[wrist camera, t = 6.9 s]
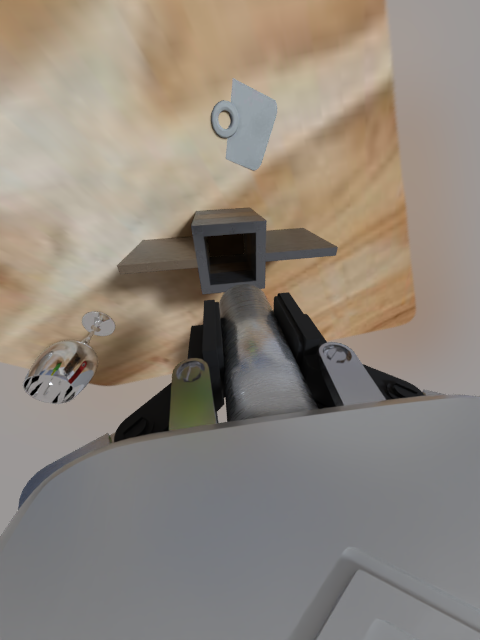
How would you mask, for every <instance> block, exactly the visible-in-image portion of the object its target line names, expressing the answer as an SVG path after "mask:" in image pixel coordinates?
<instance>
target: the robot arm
mask: <svg viewBox="0 0 480 640" xmlns="http://www.w3.org/2000/svg"><path fill="white" fill-rule="evenodd" d="M273 312H274V315H275V317H276V319H277V321H278V323H279V325H280V327H281V330H282V332H283V334H284V336H285V338H286V340H287V342H288V344H289V347H290V349H291V351H292V353H293V355H294V357H295V359H296V362H297V364H298V366H299V368H300V370H301V372H302V374H303V376H304V379H305V381H306V383H307V385H308V387H309V389H310V391H311V394H312V396H313V398H314V400H315V402H316V404H317V406H318V409H316V410H309V411H301V412H294V413H287V414H280V415H273V416H266V417H258V418H251V419H244V420H238V421H231V422H224V423H218V416H217V411H218V410H219V409H220V408H221V407H222V406H223V405H224V397H226V396H225V383H224V373H225V366H224V353H223V341H222V329H221V317H220V308H219V302H215V300H207V301H204V318H203V325H197V326H192V327H191V334H190V342H189V351H188V359H187V360H184V361H182V362H180V363H179V364H178V365H177V366H176V367H175V368H174V370H173V373H172V383H170V384H169V385H168V386H167V387H165V388H164V389H163V390H162V391H160V392H159V393H158V394H157V395H155V396H154V397H153V398H152V399H150V400H149V401H148V402H147V403H145V404H144V405H143V406H141V407H140V408H139V409H138V410H137V411H135V412H134V413H133V414H131V415H130V416H129V417H128V418H126V419H125V420H124V421H123V422H122V423H121V424H120V426H119V427H118V429H117V430H116V432H115V433H114V434H111V435H109V434H108V433H107V434H105V435H103V436H101V437H99V438H98V439H96V440H94V441H92V442H90V443H88V444H86V445H85V446H83V447H81V448H79V449H77V450H75V451H73V452H72V453H70V454H68V455H66V456H64V457H62V458H60V459H59V460H57V461H55V462H53V463H51V464H49V465H47V466H46V467H44V468H43V469H41V470H40V471H38V472H37V473H36V474H35V475H34V476H33V477H32V478H31V479H30V480H29V481H28V483H27V484H26V486H25V487H24V489H23V491H22V494H21V496H20V499H19V507H18V511H17V512H16V514H15V515H14V517H13V518H12V520H11V521H10V523H9V524H8V526H7V527H6V529H5V530H4V532H3V533H2V535H1V536H0V640H480V396H469V395H445V394H441V393H437V392H432V391H428V390H423V392H421V391H420V390H419V389H418V388H417V387H415V386H414V385H412V384H410V383H408V382H406V381H404V380H401V379H399V378H396V377H393V376H391V375H388V374H386V373H384V372H381V371H378V370H376V369H373V368H371V367H368V366H366V365H363V364H362V363H361V362H360V360H359V359H358V357H357V356H356V354H355V353H354V352H353V351H352V349H350V348H349V347H347V346H346V345H343V344H341V343H335V342H329V343H327V342H326V340H325V339H324V337H323V336H322V335H321V333H320V332H319V330H318V329H317V327H316V326H315V325H314V323H313V322H312V320H311V319H310V318H309V316H308V315H307V314H303V312H302V311H301V310H300V308H299V307H298V305H297V304H296V302H295V301H294V299H293V298H292V296H291V295H290V293H279V294H278V296H275V297H274V311H273Z"/></svg>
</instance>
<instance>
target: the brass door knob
mask: <svg viewBox="0 0 480 640" xmlns="http://www.w3.org/2000/svg"><path fill="white" fill-rule="evenodd" d="M219 308H220V317H221V329H222V341H223V353H224V366H225V373H224V383H225V396H226V410H227V422H231V421H238V420H244V419H251V418H258V417H266V416H273V415H280V414H287V413H294V412H301V411H309V410H316V409H318V406H317V404H316V402H315V400H314V398H313V396H312V394H311V391H310V389H309V387H308V385H307V383H306V381H305V379H304V376H303V374H302V372H301V370H300V368H299V366H298V364H297V362H296V359H295V357H294V355H293V353H292V351H291V349H290V347H289V344H288V342H287V340H286V338H285V336H284V334H283V332H282V330H281V327H280V325H279V323H278V321H277V319H276V317H275V315H274V312H273V310H272V308H271V306H270V304H269V302H268V300H267V298H266V296H265V294H264V292H263V291H262V290H261V289H259V288H258V287H256V286H253V285H250V284H241V285H237V286H234V287H232V288H230V289H229V290H227V291H226V292H225V293H224V294H223V296H222V297H221V300H220V303H219Z"/></svg>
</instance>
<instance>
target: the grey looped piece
mask: <svg viewBox="0 0 480 640" xmlns="http://www.w3.org/2000/svg"><path fill="white" fill-rule="evenodd" d="M224 110H226V111H228V112H229V113H230V118H231V123H230V125H229V128H228V129H223V128H222V127H221V126H220V125H219V122H218V116H219V113H220V112H221V111H224ZM276 114H277V104H276V101H275V100H273V99H272V98H270V97H268V96H266V95H264V94H262V93H260V92H258V91H256V90H254V89H253V88H251V87H249V86H247V85H245V84H243V83H241V82H239V81H237V80H235V79H234V78H233V83H232V94H231V103H230V102H229V101H224V100H223V101H220V102H218V103H217V104H216V105H215V106H214V108H213V111H212V113H211V123H212V126H213V129H214V131H215V132H216V134H217V135H219V136H220V137H221V138H228V140H227V151H226V159H228V160H230V161H232V162H235V163H237V164H239V165H242V166H244V167H247V168H249V169H251V170H257V169H258V168H259V167H260V165H261V163H262V160H263V157H264V153H265V150H266V147H267V144H268V140H269V137H270V134H271V131H272V128H273V124H274V121H275V118H276Z"/></svg>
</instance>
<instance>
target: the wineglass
mask: <svg viewBox="0 0 480 640" xmlns="http://www.w3.org/2000/svg"><path fill="white" fill-rule="evenodd" d="M82 324H83V326H84V328H85V329H86V330H87V331H88V332H90V334H89V335H88V336H87V337H86V338H85V339H83V340H82V341H81V342H80V341H75V340H65V341H60V342H57V343H54V344H52V345H51V346H49V347H48V348H46V349H45V350H44V351H43V352H42V353H41V354H40V355H39V356H38V357H37V359H36V360H35V362H34V363H33V365H32V366H31V368H30V370H29V372H28V374H27V376H26V378H25V380H24V383H23V388H24V390H25V392H26V393H27V394H29V395H30V396H31V397H33V398H35V399H37V400H39V401H42V402H46V403H53V404H60V403H66V402H69V401H70V400H72V399H74V398H75V397H76V396H77V395H78V394H79V393H80V392H81V391H82V390H83V388H85V386H86V385H87V384H88V383H89V382H90V380H91V379H92V378H93V376H94V374H95V372H96V370H97V367H98V356H97V354H96V352H95V351H94V349H93V348H92V347H90V346H89V343H90V340H91V337H92V336H93V335H98V336H107V335H110V334H112V333H113V332H114V330H115V323H114V321H113V320H112V318H110V317H109V316H108V315H106V314H104V313H101V312H96V311H94V312H88V313H86V314H85V315H84V316H83V318H82Z"/></svg>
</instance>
